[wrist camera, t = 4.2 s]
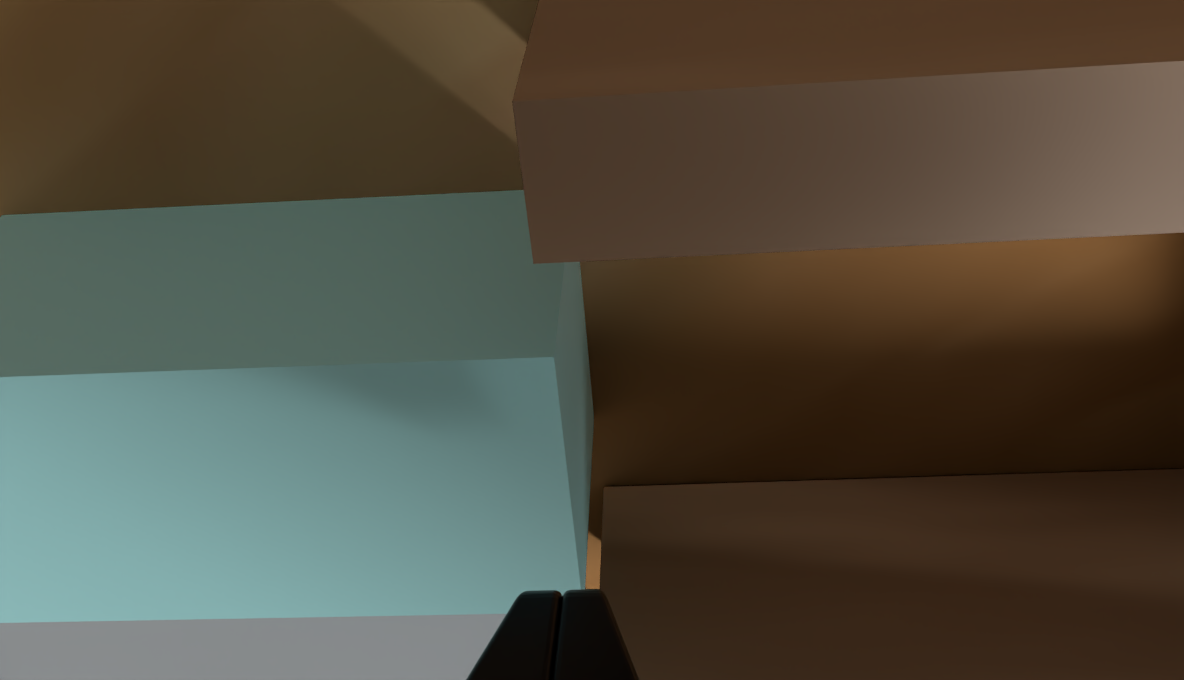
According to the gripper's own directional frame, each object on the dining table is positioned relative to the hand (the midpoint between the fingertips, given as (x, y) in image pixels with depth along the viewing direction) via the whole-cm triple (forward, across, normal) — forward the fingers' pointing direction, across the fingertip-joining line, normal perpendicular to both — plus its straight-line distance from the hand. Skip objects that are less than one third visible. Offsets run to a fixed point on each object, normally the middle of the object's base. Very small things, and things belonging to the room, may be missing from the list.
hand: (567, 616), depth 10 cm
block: (+4, 0, 0) cm, 4 cm away
